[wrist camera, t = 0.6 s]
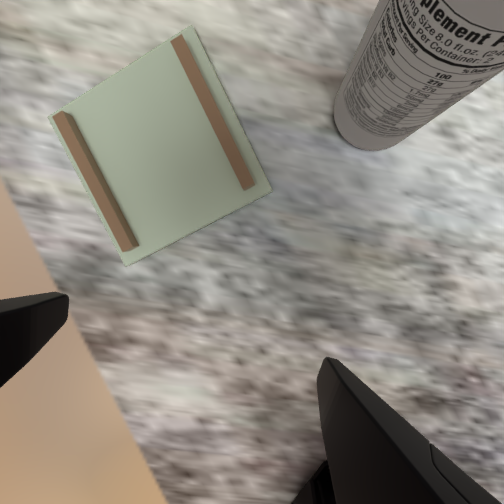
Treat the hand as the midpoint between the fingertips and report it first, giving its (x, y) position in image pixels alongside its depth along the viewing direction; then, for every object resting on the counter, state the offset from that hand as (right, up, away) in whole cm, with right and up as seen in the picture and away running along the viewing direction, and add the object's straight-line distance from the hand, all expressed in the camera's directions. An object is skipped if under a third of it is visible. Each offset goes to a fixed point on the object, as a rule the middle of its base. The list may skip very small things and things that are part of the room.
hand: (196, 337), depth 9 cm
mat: (-6, +11, +12) cm, 18 cm away
